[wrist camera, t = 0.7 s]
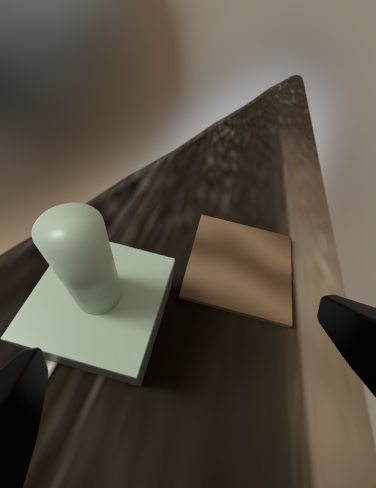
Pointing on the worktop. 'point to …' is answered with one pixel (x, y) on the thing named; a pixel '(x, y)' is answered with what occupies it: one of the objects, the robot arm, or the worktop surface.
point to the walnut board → (240, 271)
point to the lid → (91, 294)
